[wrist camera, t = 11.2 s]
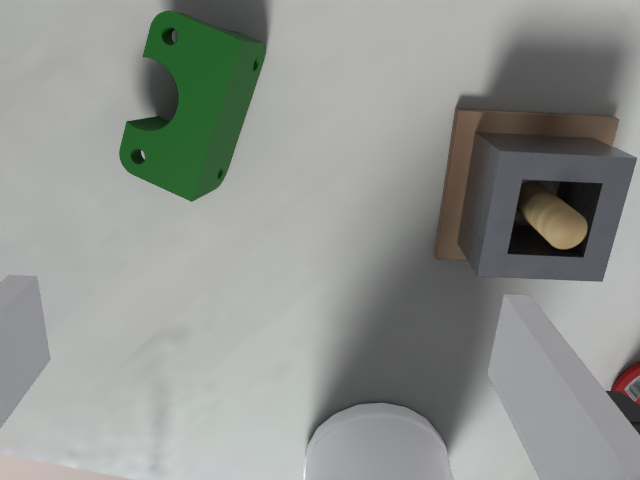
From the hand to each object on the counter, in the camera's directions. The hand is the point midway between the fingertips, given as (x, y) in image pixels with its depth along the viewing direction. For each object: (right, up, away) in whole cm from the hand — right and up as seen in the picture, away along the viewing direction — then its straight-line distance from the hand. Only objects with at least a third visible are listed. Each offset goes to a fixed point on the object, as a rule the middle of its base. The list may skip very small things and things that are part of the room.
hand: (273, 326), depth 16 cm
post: (+17, +7, +28) cm, 34 cm away
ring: (+17, +6, +27) cm, 33 cm away
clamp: (-8, +13, +25) cm, 29 cm away
